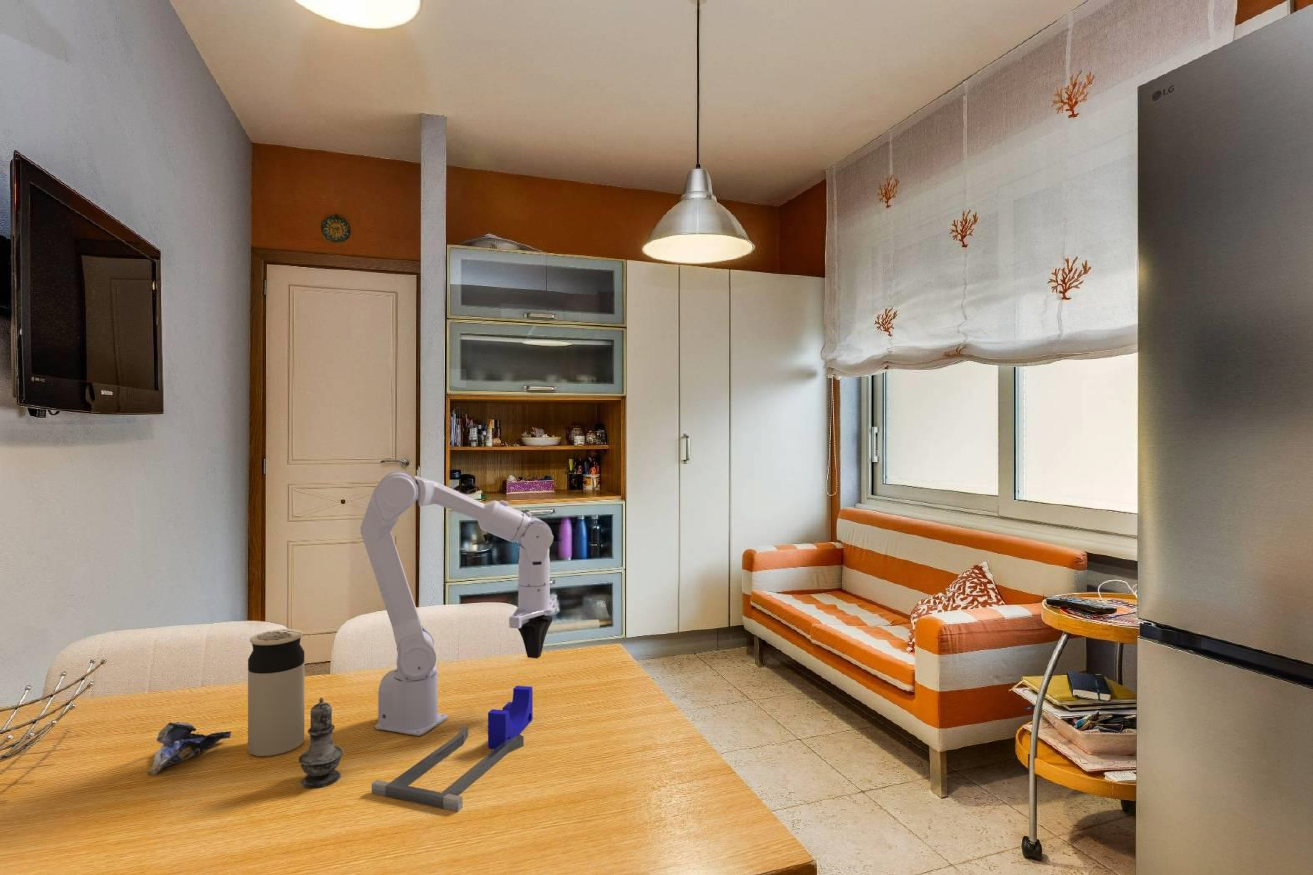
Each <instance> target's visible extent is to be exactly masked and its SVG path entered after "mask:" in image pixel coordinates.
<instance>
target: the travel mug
mask: <svg viewBox="0 0 1313 875" xmlns="http://www.w3.org/2000/svg"><path fill="white" fill-rule="evenodd" d="M303 635H304V633H303V631H302V630H300V629H294V628H285V629H284V628H282V629H281V628H280V629H273V630H267V631H264V632H260V633H256V634H255V635H253V636H251V637H250V639H249V642H250V643H251V645H252V647H251V648H252V651H251V653H250V655H249V657H248V659H247V751H248V753H249V754H251V755H254V756H257V757H273V756H277V755H282V754H286V753H289V752H291V751H293V750H295V749H296V748H298V747H300V746H301V745H302V744H303V743H304V742H305V650H304V649H303V647H302V645H301V639H302V637H303Z"/></svg>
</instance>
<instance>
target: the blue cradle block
mask: <svg viewBox="0 0 1313 875" xmlns="http://www.w3.org/2000/svg"><path fill="white" fill-rule="evenodd" d="M533 692H534V691H533V686H530V685H529V686H525V685H515V686H514V688H513V690H512V700H511V701H508V702H507V703H506V704H505V705H504V706H503V707H502V708H501V709H494V708H493V709H492V708H491V709H490V710H489V711H488V713H487V749H488V750H494V749H495V748H497V747H498V746H499V745H500V744H502V743H503V742H504V741H507V740H509V739H511V738H513V737H516V736H518V735H521V734H522V732H523V731H525V729H526V728H527V727H528V725H529V724H530V723H531V722H532V721H533V719H534V718H533V716H534V714H533V710H534V709H533V707H534V706H533V703H534V699H533Z"/></svg>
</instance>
